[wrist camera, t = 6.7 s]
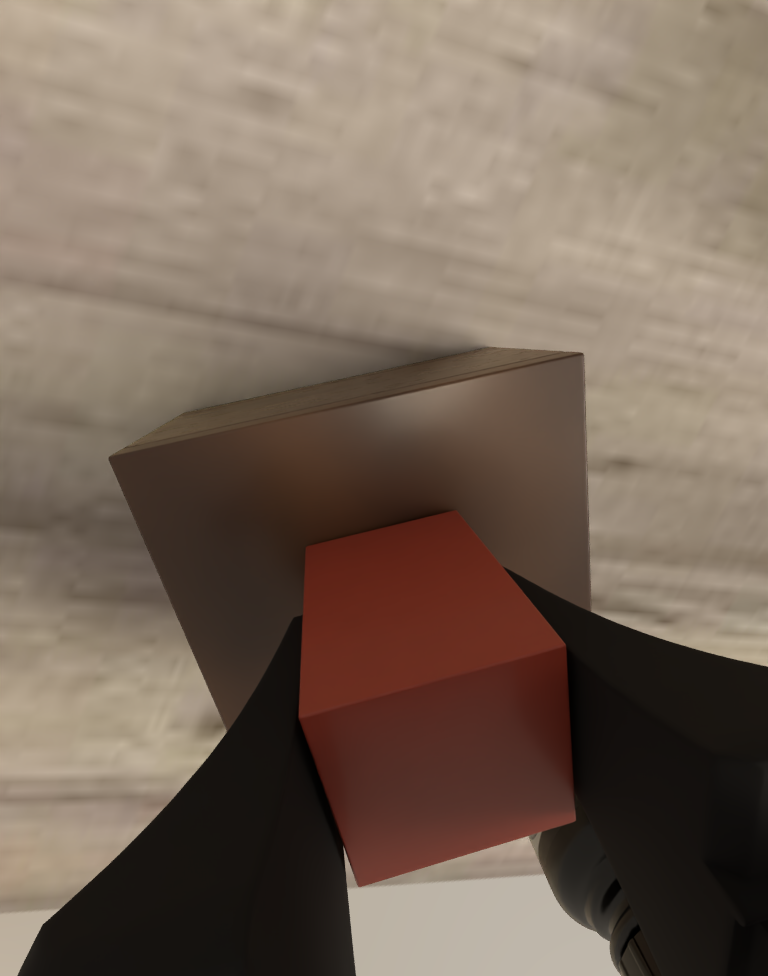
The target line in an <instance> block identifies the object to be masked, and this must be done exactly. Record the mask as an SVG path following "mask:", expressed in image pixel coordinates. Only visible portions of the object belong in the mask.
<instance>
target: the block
mask: <svg viewBox="0 0 768 976" xmlns="http://www.w3.org/2000/svg"><path fill="white" fill-rule="evenodd" d="M299 720H300V723H301V726H302V729H303V732H304V735H305V738H306V740H307V743H308V746H309V749H310V752H311V755H312V757H313V760H314V763H315V766H316V769H317V772H318V775H319V777H320V780H321V783H322V786H323V789H324V792H325V794H326V797H327V800H328V803H329V806H330V809H331V811H332V814H333V817H334V820H335V823H336V826H337V829H338V831H339V834H340V837H341V840H342V843H343V846H344V848H345V851H346V854H347V857H348V860H349V863H350V866H351V868H352V871H353V874H354V877H355V880H356V883H357V885H358V887H362V886H366V885H369V884H372V883H375V882H379V881H382V880H385V879H388V878H392V877H395V876H398V875H402V874H405V873H408V872H411V871H415V870H418V869H421V868H424V867H428V866H431V865H434V864H438V863H441V862H444V861H447V860H451V859H454V858H457V857H461V856H464V855H467V854H470V853H474V852H477V851H480V850H483V849H487V848H490V847H493V846H497V845H500V844H503V843H506V842H510V841H513V840H516V839H519V838H523V837H526V836H529V835H533V834H536V833H539V832H542V831H546V830H549V829H552V828H556V827H559V826H562V825H565V824H569V823H572V822H574V821H575V820H576V815H575V797H574V779H573V761H572V743H571V725H570V707H569V689H568V671H567V652H566V644H565V643H564V642H563V640H562V639H561V638H560V637H559V635H558V634H557V633H556V632H555V631H554V629H553V628H552V627H551V626H550V624H549V623H548V622H547V621H546V620H545V618H544V617H543V616H542V615H541V613H540V612H539V611H538V610H537V608H536V607H535V606H534V605H533V604H532V602H531V601H530V600H529V599H528V597H527V596H526V595H525V594H524V593H523V591H522V590H521V589H520V588H519V586H518V585H517V584H516V583H515V581H514V580H513V579H512V578H511V577H510V575H509V574H508V573H507V572H506V570H505V569H504V568H503V567H502V566H501V564H500V563H499V562H498V561H497V559H496V558H495V557H494V556H493V555H492V553H491V552H490V551H489V550H488V548H487V547H486V546H485V545H484V543H483V542H482V541H481V540H480V539H479V537H478V536H477V535H476V534H475V532H474V531H473V530H472V529H471V528H470V526H469V525H468V524H467V523H466V521H465V520H464V519H463V518H462V517H461V515H460V514H459V513H458V512H457V510H454V511H450V512H446V513H442V514H438V515H433V516H429V517H425V518H421V519H417V520H413V521H409V522H405V523H400V524H396V525H392V526H388V527H384V528H380V529H376V530H372V531H368V532H363V533H359V534H355V535H351V536H347V537H343V538H339V539H335V540H331V541H326V542H322V543H318V544H314V545H310V546H307V547H306V551H305V575H304V599H303V622H302V646H301V670H300V694H299Z"/></svg>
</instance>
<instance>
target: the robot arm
mask: <svg viewBox="0 0 768 976" xmlns="http://www.w3.org/2000/svg"><path fill="white" fill-rule="evenodd" d="M502 567H503V566H502ZM503 568H504V569H505V570H506V572H507V573H508V574H509V575H510V577H511V578H512V579H513V580H514V581H515V583H516V584H517V585H518V586H519V588H520V589H521V590H522V591H523V593H524V594H525V595H526V596H527V597H528V599H529V600H530V601H531V602H532V604H533V605H534V606H535V607H536V608H537V610H538V611H539V612H540V613H541V615H542V616H543V617H544V618H545V620H546V621H547V622H548V623H549V624H550V626H551V627H552V628H553V629H554V631H555V632H556V633H557V634H558V635H559V637H560V638H561V639H562V640H563V642H564V643H565V644H566V652H567V671H568V689H569V707H570V725H571V743H572V761H573V779H574V791H575V793H576V795H577V797H578V799H579V801H580V803H581V805H582V807H583V809H584V811H585V813H586V815H587V817H588V819H589V821H590V823H591V825H592V828H593V830H594V832H595V834H596V836H597V838H598V840H599V842H600V844H601V846H602V848H603V850H604V852H605V854H606V856H607V858H608V860H609V862H610V865H611V867H612V869H613V871H614V873H615V875H616V877H617V879H618V882H619V884H620V886H621V888H622V890H623V892H624V894H625V897H626V899H627V901H628V903H629V905H630V907H631V909H632V911H633V914H634V916H635V918H636V920H637V922H638V924H639V926H640V929H641V931H642V933H643V935H644V937H645V940H646V942H647V944H648V946H649V949H650V951H651V953H652V955H653V957H654V960H655V962H656V964H657V966H658V969H659V971H660V973H661V975H662V976H768V667H766V666H761V665H757V664H752V663H748V662H743V661H739V660H734V659H730V658H726V657H722V656H718V655H715V654H711V653H707V652H703V651H700V650H696V649H693V648H689V647H686V646H683V645H679V644H676V643H672V642H669V641H666V640H663V639H660V638H657V637H654V636H651V635H648V634H645V633H642V632H640V631H637V630H634V629H631V628H629V627H626V626H623V625H621V624H618V623H616V622H613V621H611V620H608V619H606V618H603V617H601V616H599V615H597V614H595V613H592V612H590V611H588V610H586V609H583V608H581V607H579V606H577V605H575V604H573V603H571V602H569V601H567V600H565V599H563V598H561V597H559V596H557V595H555V594H553V593H551V592H549V591H547V590H545V589H543V588H542V587H540V586H538V585H536V584H534V583H532V582H531V581H529V580H527V579H525V578H523V577H522V576H520V575H518V574H516V573H514V572H513V571H511V570H509V569H507V568H505V567H503ZM302 622H303V615H301V616H297V617H294V618H293V619H292V621H291V622H290V624H289V626H288V628H287V631H286V633H285V635H284V637H283V639H282V641H281V643H280V645H279V647H278V649H277V651H276V653H275V654H274V656H273V658H272V660H271V662H270V664H269V666H268V667H267V669H266V671H265V673H264V675H263V676H262V678H261V680H260V682H259V683H258V685H257V687H256V688H255V690H254V692H253V693H252V695H251V696H250V698H249V700H248V701H247V703H246V704H245V706H244V708H243V709H242V711H241V712H240V714H239V716H238V717H237V719H236V720H235V721H234V723H233V724H232V726H231V727H230V729H229V730H228V732H227V733H226V734H225V736H224V737H223V739H222V740H221V741H220V743H219V744H218V745H217V747H216V748H215V749H214V751H213V752H212V753H211V754H210V756H209V757H208V758H207V759H206V761H205V762H204V763H203V764H202V765H201V767H200V768H199V769H198V770H197V771H196V772H195V774H194V775H193V776H192V777H191V778H190V779H189V781H188V782H187V783H186V784H185V785H184V787H183V788H182V789H181V790H180V791H179V792H178V794H177V795H176V796H175V797H174V798H173V799H172V800H171V802H170V803H169V804H168V805H167V806H166V807H165V808H164V809H163V810H162V811H161V812H160V813H159V814H158V816H157V817H156V818H155V819H154V820H153V821H152V822H151V823H150V824H149V825H148V826H147V827H146V828H145V829H144V830H143V831H142V832H141V833H140V834H139V835H138V836H137V837H136V838H135V839H134V840H133V841H132V842H131V843H130V844H129V845H128V846H127V847H126V848H125V849H124V850H123V851H122V852H121V853H120V854H119V855H118V856H117V857H116V858H115V859H114V860H113V861H112V862H111V863H110V864H109V865H108V866H107V867H106V868H105V869H104V870H102V871H101V872H100V873H99V874H98V875H97V876H96V877H95V878H94V879H93V880H92V881H91V882H89V883H88V884H87V885H86V886H85V887H84V888H83V889H82V890H81V891H80V892H79V893H77V894H76V895H75V896H74V897H73V898H72V899H71V900H70V901H69V902H68V903H67V904H65V905H64V906H63V907H62V908H61V909H60V910H59V911H58V912H57V913H56V914H54V915H53V916H52V917H51V918H50V919H49V920H48V921H46V922H45V923H44V924H43V925H42V927H41V929H40V931H39V933H38V935H37V937H36V939H35V941H34V943H33V945H32V947H31V949H30V951H29V953H28V955H27V957H26V959H25V961H24V963H23V965H22V967H21V969H20V972H19V974H18V976H356V973H355V963H354V955H353V945H352V935H351V924H350V914H349V903H348V893H347V883H346V871H345V860H344V849H343V843H342V840H341V837H340V834H339V831H338V829H337V826H336V823H335V820H334V817H333V814H332V811H331V809H330V806H329V803H328V800H327V797H326V794H325V792H324V789H323V786H322V783H321V780H320V777H319V775H318V772H317V769H316V766H315V763H314V760H313V757H312V755H311V752H310V749H309V746H308V743H307V740H306V738H305V735H304V732H303V729H302V726H301V723H300V720H299V694H300V670H301V646H302Z"/></svg>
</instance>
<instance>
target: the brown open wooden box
mask: <svg viewBox="0 0 768 976" xmlns="http://www.w3.org/2000/svg"><path fill="white" fill-rule="evenodd" d="M109 461H110V464H111V466H112V468H113V471H114V473H115V475H116V477H117V480H118V482H119V484H120V487H121V489H122V491H123V493H124V496H125V498H126V500H127V503H128V505H129V507H130V510H131V512H132V514H133V516H134V519H135V521H136V523H137V526H138V528H139V530H140V532H141V535H142V537H143V539H144V542H145V544H146V546H147V549H148V551H149V553H150V555H151V558H152V560H153V562H154V565H155V567H156V569H157V571H158V574H159V576H160V578H161V581H162V583H163V585H164V588H165V590H166V592H167V594H168V597H169V599H170V601H171V604H172V606H173V608H174V610H175V613H176V615H177V617H178V620H179V622H180V624H181V626H182V629H183V631H184V633H185V636H186V638H187V640H188V643H189V645H190V647H191V649H192V652H193V654H194V656H195V659H196V661H197V663H198V665H199V668H200V670H201V672H202V675H203V677H204V679H205V682H206V684H207V686H208V688H209V691H210V693H211V695H212V698H213V700H214V702H215V704H216V707H217V709H218V711H219V714H220V716H221V718H222V721H223V723H224V725H225V727H226V730H227V732H228V730H229V729H230V727H231V726H232V724H233V723H234V721H235V720H236V719H237V717H238V716H239V714H240V712H241V711H242V709H243V708H244V706H245V704H246V703H247V701H248V700H249V698H250V696H251V695H252V693H253V692H254V690H255V688H256V687H257V685H258V683H259V682H260V680H261V678H262V676H263V675H264V673H265V671H266V669H267V667H268V666H269V664H270V662H271V660H272V658H273V656H274V654H275V653H276V651H277V649H278V647H279V645H280V643H281V641H282V639H283V637H284V635H285V633H286V631H287V628H288V626H289V624H290V622H291V621H292V619H293V618H294V617H297V616H301V615H303V599H304V575H305V551H306V547H307V546H310V545H314V544H318V543H322V542H326V541H331V540H335V539H339V538H343V537H347V536H351V535H355V534H359V533H363V532H368V531H372V530H376V529H380V528H384V527H388V526H392V525H396V524H400V523H405V522H409V521H413V520H417V519H421V518H425V517H429V516H433V515H438V514H442V513H446V512H450V511H454V510H457V512H458V513H459V514H460V515H461V517H462V518H463V519H464V520H465V521H466V523H467V524H468V525H469V526H470V528H471V529H472V530H473V531H474V532H475V534H476V535H477V536H478V537H479V539H480V540H481V541H482V542H483V543H484V545H485V546H486V547H487V548H488V550H489V551H490V552H491V553H492V555H493V556H494V557H495V558H496V559H497V561H498V562H499V563H500V564H501V566H503V567H505V568H507V569H509V570H511V571H513V572H514V573H516V574H518V575H520V576H522V577H523V578H525V579H527V580H529V581H531V582H532V583H534V584H536V585H538V586H540V587H542V588H543V589H545V590H547V591H549V592H551V593H553V594H555V595H557V596H559V597H561V598H563V599H565V600H567V601H569V602H571V603H573V604H575V605H577V606H579V607H581V608H583V609H586V610H588V611H590V612H591V581H590V545H589V510H588V475H587V440H586V405H585V370H584V354H583V353H580V352H562V351H546V350H530V349H514V348H497V347H488V348H484V349H479V350H474V351H470V352H465V353H460V354H456V355H451V356H446V357H442V358H437V359H432V360H428V361H423V362H418V363H414V364H409V365H404V366H400V367H395V368H391V369H386V370H381V371H377V372H372V373H367V374H363V375H358V376H353V377H349V378H344V379H339V380H335V381H330V382H325V383H321V384H316V385H311V386H307V387H302V388H298V389H293V390H288V391H284V392H279V393H274V394H270V395H265V396H260V397H256V398H251V399H246V400H242V401H237V402H232V403H228V404H223V405H219V406H214V407H209V408H205V409H200V410H195V411H191V412H186V413H183V414H181V415H180V416H178V417H176V418H174V419H173V420H171V421H169V422H168V423H166V424H164V425H163V426H161V427H159V428H157V429H156V430H154V431H152V432H151V433H149V434H147V435H146V436H144V437H142V438H140V439H139V440H137V441H135V442H134V443H132V444H130V445H129V446H127V447H125V448H124V449H122V450H120V451H118V452H116V453H115V454H113V455H111V456H110V457H109Z"/></svg>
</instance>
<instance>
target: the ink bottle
mask: <svg viewBox="0 0 768 976" xmlns="http://www.w3.org/2000/svg"><path fill="white" fill-rule="evenodd" d="M574 797H575V815H576V820H575V821H574V822H572V823H569V824H565V825H562V826H559V827H556V828H552V829H549V830H546V831H542V832H539V833H536V834H533V835H529V839H530V841H531V843H532V846H533V848H534V850H535V853H536V855H537V857H538V860H539V862H540V864H541V867H542V869H543V871H544V873H545V876H546V878H547V880H548V883H549V885H550V887H551V889H552V891H553V894H554V896H555V897H556V899H557V901H558V902H559V904H560V906H561V907H562V908H563V910H564V911H565V912H566V913H567V914H568V915H569V916H570V917H571V918H572V919H574V920H575V921H576V922H577V923H579V924H581V925H582V926H584V927H586V928H588V929H590V930H593V931H596V932H597V933H598V934H599V935H600V936H602V937H603V938H605V939H606V940H608V941H610V954H611V958H612V961H613V964H614V966H615V967H616V969H617V971H618V972H619V973H620V974H621V976H662V975H661V973H660V971H659V969H658V966H657V964H656V962H655V960H654V957H653V955H652V953H651V951H650V949H649V946H648V944H647V942H646V940H645V937H644V935H643V933H642V931H641V929H640V926H639V924H638V922H637V920H636V918H635V916H634V914H633V911H632V909H631V907H630V905H629V903H628V901H627V899H626V897H625V894H624V892H623V890H622V888H621V886H620V884H619V882H618V879H617V877H616V875H615V873H614V871H613V869H612V867H611V865H610V862H609V860H608V858H607V856H606V854H605V852H604V850H603V848H602V846H601V844H600V842H599V840H598V838H597V836H596V834H595V832H594V830H593V828H592V825H591V823H590V821H589V819H588V817H587V815H586V813H585V811H584V809H583V807H582V805H581V803H580V801H579V799H578V797H577V795H576V793H575V791H574Z"/></svg>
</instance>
